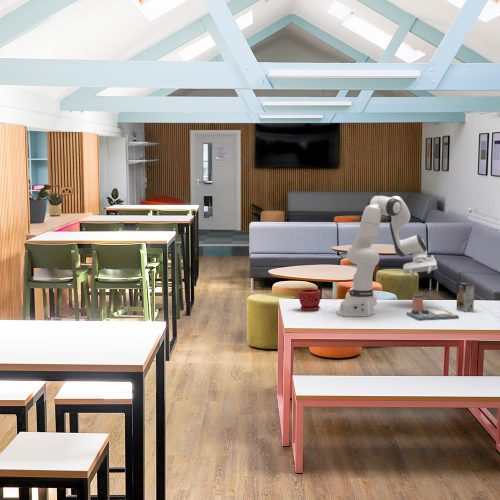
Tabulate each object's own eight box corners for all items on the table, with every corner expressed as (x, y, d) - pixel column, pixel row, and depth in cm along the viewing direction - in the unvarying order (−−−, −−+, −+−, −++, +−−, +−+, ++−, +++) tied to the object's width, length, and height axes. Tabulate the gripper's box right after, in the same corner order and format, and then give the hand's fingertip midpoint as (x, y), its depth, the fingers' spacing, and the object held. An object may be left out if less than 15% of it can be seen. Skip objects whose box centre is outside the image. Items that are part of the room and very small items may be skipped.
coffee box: (455, 309, 464) (456, 282, 463) (465, 308, 466) (465, 281, 465) (464, 311, 456) (465, 284, 454) (474, 311, 458) (474, 284, 456)
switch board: (418, 320, 432) (418, 314, 431) (406, 314, 448) (406, 309, 448) (458, 318, 436) (458, 312, 436) (445, 312, 453) (445, 307, 453)
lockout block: (415, 312, 455) (415, 295, 454) (411, 311, 460) (412, 294, 458) (423, 312, 456) (423, 295, 455) (419, 310, 460) (420, 294, 459)
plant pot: (320, 307, 473) (320, 288, 471) (320, 312, 460) (320, 292, 458) (299, 307, 474) (299, 288, 473) (298, 311, 461) (298, 291, 460)
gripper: (402, 260, 476) (401, 271, 464) (436, 254, 470) (436, 266, 458) (404, 268, 479) (403, 280, 467) (437, 263, 473) (438, 275, 461)
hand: (420, 273), depth 463 cm, fingers open, 8 cm apart
